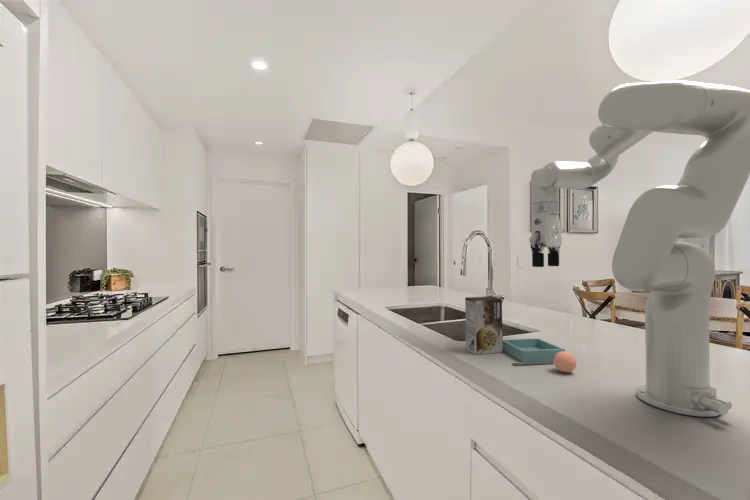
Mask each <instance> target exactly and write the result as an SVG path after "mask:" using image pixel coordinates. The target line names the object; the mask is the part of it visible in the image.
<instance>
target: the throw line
mask: <svg viewBox="0 0 750 500" xmlns="http://www.w3.org/2000/svg"><path fill="white" fill-rule="evenodd" d="M511 365H512V366H514V367H525V366H545V365H554V361H539V362H512V363H511Z"/></svg>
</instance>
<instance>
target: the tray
mask: <svg viewBox="0 0 750 500" xmlns="http://www.w3.org/2000/svg"><path fill="white" fill-rule="evenodd" d="M503 351H504V353H506V354H508V355H509V356H511V357H514V358H515V359H517V360H519V361H520V362H521V363H524V362H546V361H553V359H554V356H555V355H556V354H557V353H558V352H561V351H565V352H566V349H565V348H562V347H560V346H557V345H556V344H553V343H551V342H548V341H546V340H543V339H542V338H538V337H537V338H536V337H535V338H514V339H512V338H511V339H509V338H508V339H503Z"/></svg>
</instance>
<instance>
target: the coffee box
mask: <svg viewBox="0 0 750 500" xmlns="http://www.w3.org/2000/svg"><path fill="white" fill-rule="evenodd" d="M464 299H465V307H464V308H465V350H467V351H468V352H470V353H471V354H473V355H475V356H479V355H489V354H498V353H504V352H503V340H504V339H503V333H504V332H503V299H502V298H500V297H499V298H498V297H496V296H492V295H487V296H486V295H485V296H472V297H471V296H470V297H468V296H467V297H465V298H464Z"/></svg>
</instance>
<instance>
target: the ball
mask: <svg viewBox="0 0 750 500" xmlns="http://www.w3.org/2000/svg"><path fill="white" fill-rule="evenodd" d="M553 361H554V364H553V365H554V367H555V368H556V369H557V370H558V371H559V372H561V373H572V372H574V370H575V369H576V366H577V360H576V358H575V356H574V355H573V354H572V353H570V352H568V351H566V350H565V351H561V352H558V353H557V354H556V355H555V356H554V359H553Z"/></svg>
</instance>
